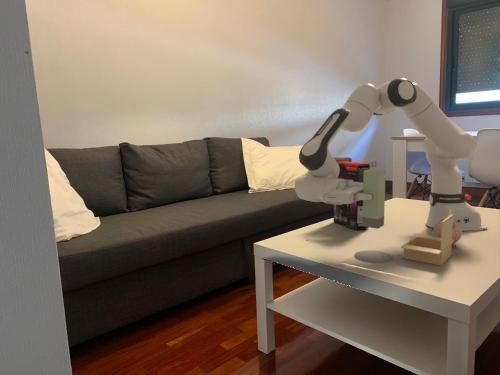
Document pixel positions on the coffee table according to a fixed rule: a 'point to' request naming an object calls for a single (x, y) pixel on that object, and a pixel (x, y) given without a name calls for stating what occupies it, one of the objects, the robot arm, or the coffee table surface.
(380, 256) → the slate mat
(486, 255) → the coffee table surface
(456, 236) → the decorative fruit
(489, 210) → the coffee table surface
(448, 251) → the wooden open tray
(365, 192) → the tall box
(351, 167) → the graphics card box
